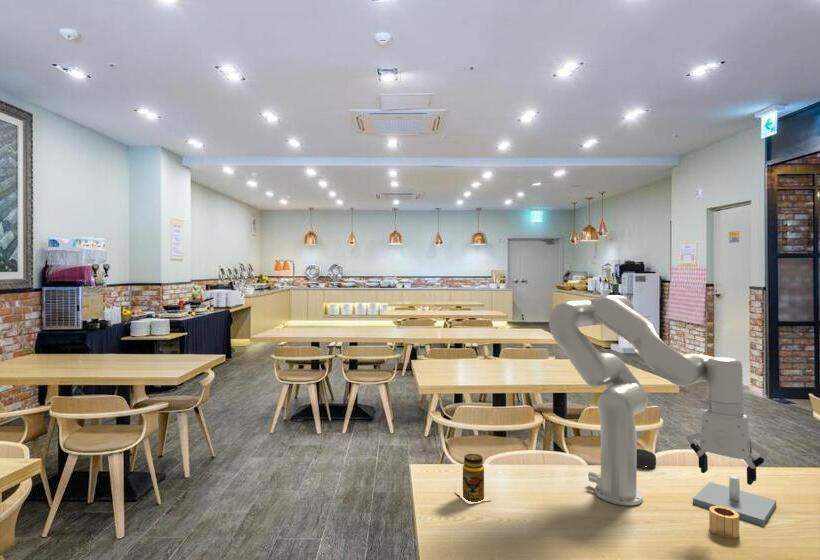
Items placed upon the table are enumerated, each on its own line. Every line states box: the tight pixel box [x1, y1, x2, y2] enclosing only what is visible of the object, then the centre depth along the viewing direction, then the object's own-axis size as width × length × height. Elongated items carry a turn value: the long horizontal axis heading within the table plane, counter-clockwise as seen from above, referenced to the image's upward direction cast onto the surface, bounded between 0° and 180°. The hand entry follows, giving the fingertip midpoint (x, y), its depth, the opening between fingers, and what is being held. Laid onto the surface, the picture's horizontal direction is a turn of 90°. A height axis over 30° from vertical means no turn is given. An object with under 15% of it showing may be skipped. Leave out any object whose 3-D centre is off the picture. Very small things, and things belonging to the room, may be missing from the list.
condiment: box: [462, 453, 485, 502], centre depth 132 cm, size 7×8×12 cm
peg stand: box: [692, 475, 777, 527], centre depth 128 cm, size 16×16×8 cm
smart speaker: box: [637, 448, 657, 469], centre depth 157 cm, size 9×9×4 cm
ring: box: [708, 506, 740, 540], centre depth 114 cm, size 6×6×5 cm
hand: (726, 477), depth 114 cm, fingers open, 9 cm apart
